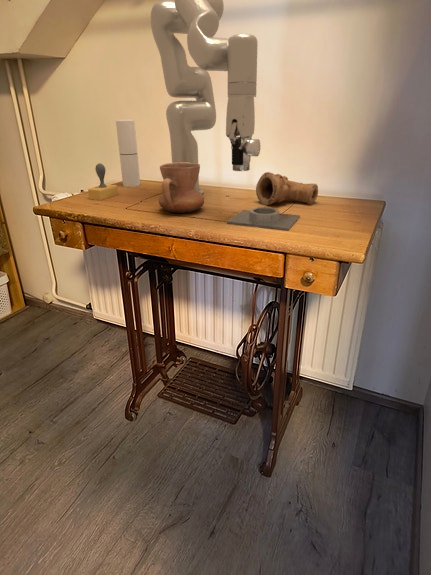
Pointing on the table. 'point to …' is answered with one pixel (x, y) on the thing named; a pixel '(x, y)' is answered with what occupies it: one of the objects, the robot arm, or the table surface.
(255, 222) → the flange
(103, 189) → the rubber stamp
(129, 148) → the cylindrical container
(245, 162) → the grey rounded piece
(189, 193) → the ceramic jug
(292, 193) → the clay pipe
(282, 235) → the table surface
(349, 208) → the table surface
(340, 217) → the table surface
